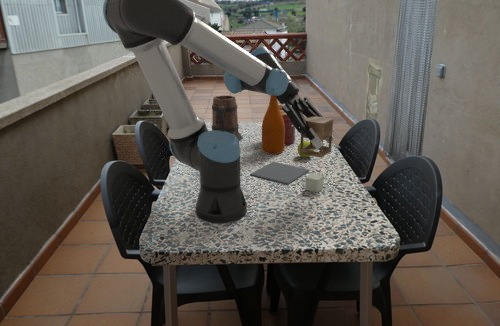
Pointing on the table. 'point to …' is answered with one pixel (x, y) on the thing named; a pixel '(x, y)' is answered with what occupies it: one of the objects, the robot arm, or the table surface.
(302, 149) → the wooden nightstand
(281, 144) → the wine bottle
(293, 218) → the table surface
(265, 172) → the mat
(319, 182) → the block
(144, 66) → the robot arm
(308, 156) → the tennis ball
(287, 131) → the canister
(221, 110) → the tankard
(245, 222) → the table surface
